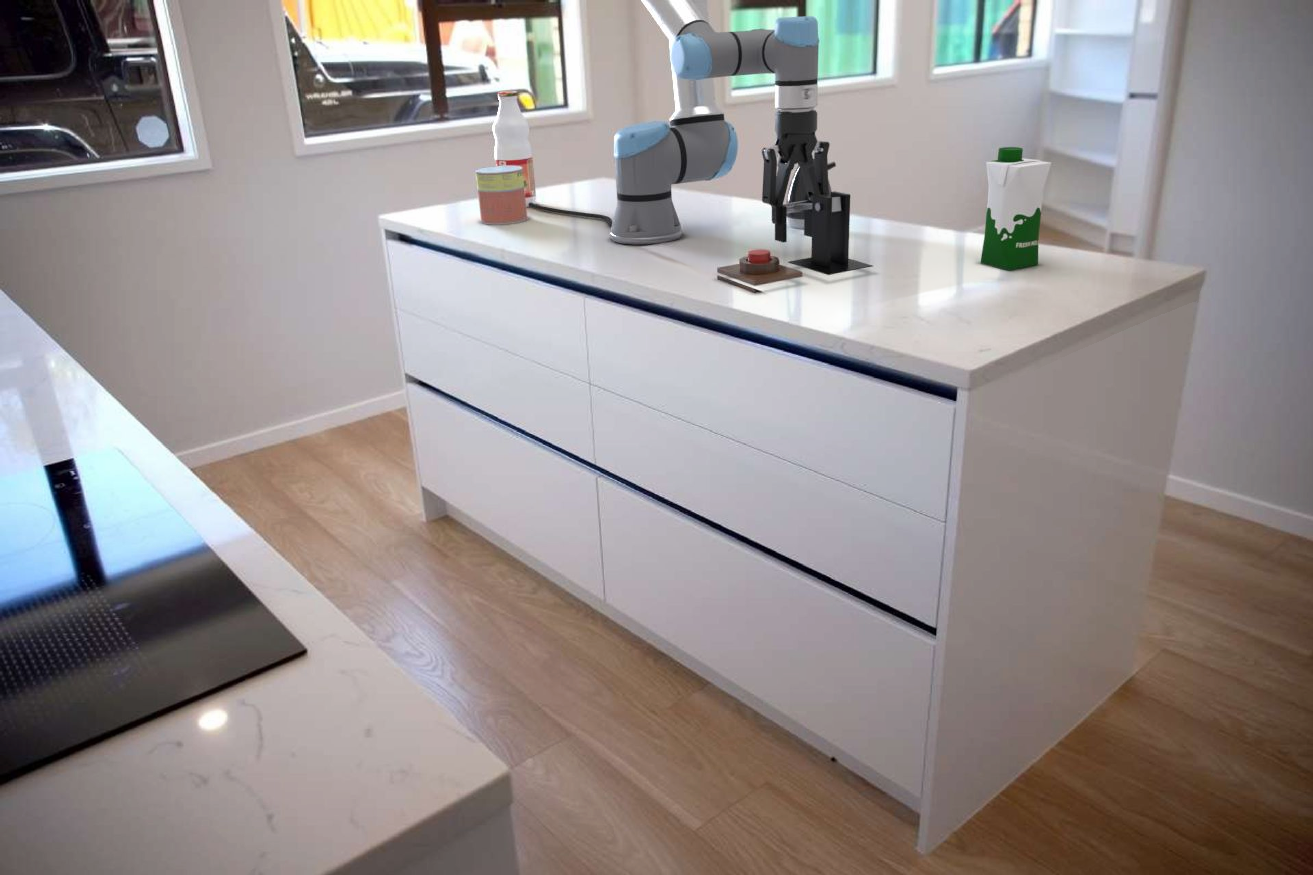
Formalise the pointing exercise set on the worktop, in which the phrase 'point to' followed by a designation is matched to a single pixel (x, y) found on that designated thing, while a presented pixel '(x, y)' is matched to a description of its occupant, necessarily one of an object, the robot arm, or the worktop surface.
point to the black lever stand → (830, 237)
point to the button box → (756, 273)
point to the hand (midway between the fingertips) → (795, 238)
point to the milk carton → (1013, 210)
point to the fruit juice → (514, 141)
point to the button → (759, 256)
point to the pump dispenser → (800, 196)
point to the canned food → (501, 194)
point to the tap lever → (807, 205)
